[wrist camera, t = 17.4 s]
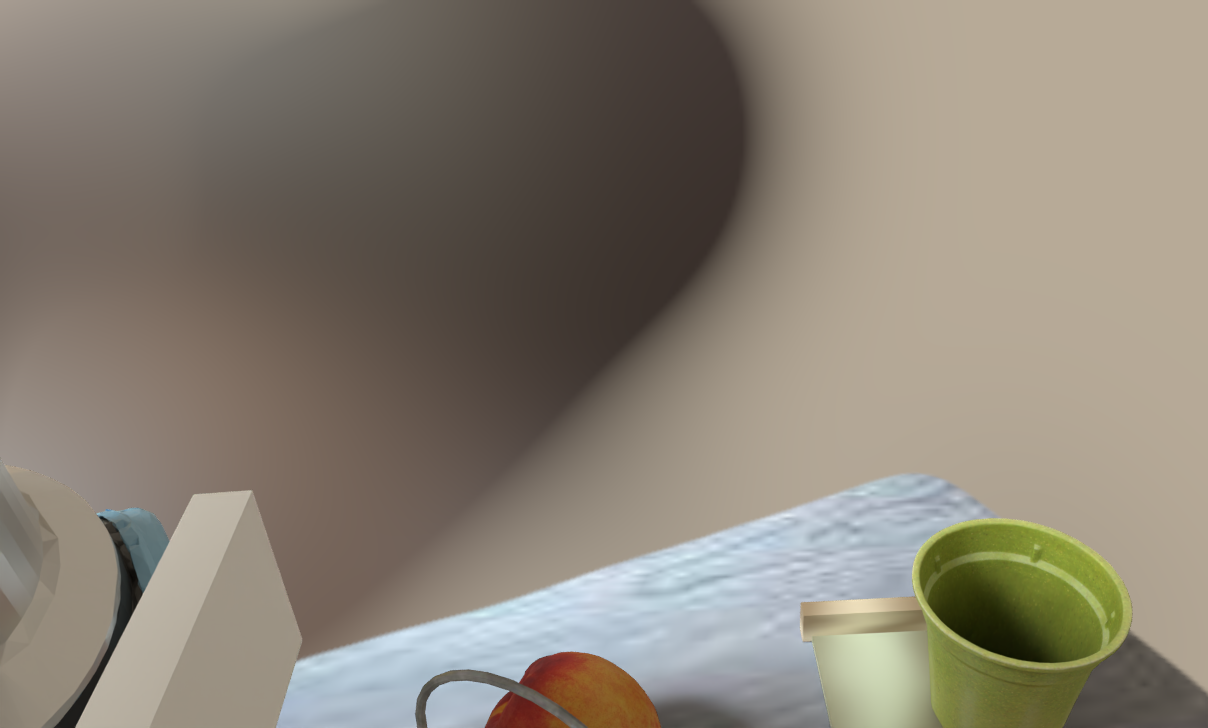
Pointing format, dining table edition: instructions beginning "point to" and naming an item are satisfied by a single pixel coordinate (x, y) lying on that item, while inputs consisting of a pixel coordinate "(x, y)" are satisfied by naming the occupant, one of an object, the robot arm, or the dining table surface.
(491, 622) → the dining table surface
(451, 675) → the lantern
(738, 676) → the dining table surface
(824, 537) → the dining table surface
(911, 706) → the trap box
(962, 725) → the plant pot
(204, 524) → the robot arm
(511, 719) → the fruit
